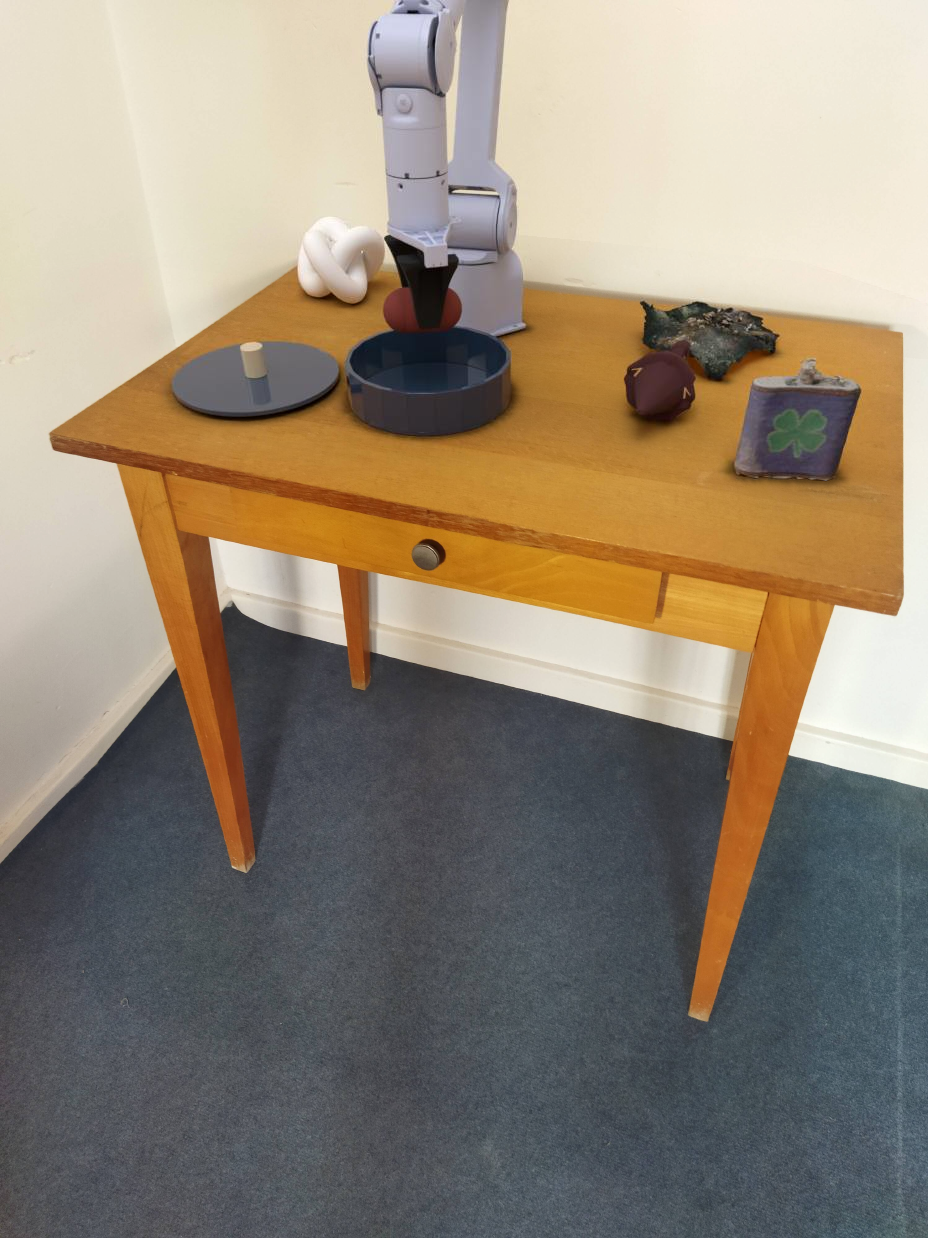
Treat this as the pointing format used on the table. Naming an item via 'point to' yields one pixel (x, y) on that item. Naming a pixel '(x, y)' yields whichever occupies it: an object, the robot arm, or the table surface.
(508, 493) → the table surface
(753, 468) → the flask
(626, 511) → the table surface
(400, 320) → the sweet potato
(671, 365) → the dark maroon rounded piece
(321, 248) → the white twisted tube
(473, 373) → the dark blue bowl
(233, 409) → the lid
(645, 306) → the decorative rock
